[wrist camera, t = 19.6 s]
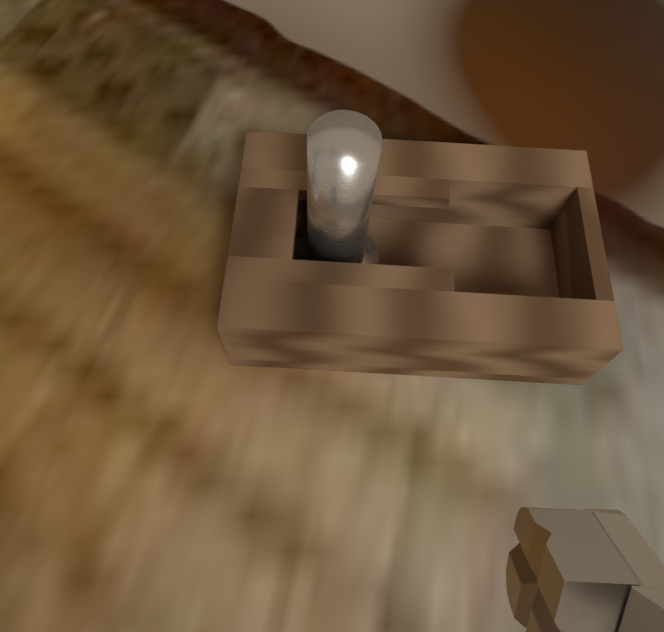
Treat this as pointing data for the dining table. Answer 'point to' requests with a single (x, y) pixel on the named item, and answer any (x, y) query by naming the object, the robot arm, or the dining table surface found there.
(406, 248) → the wooden compartment tray
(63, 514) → the dining table surface
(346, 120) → the steel peg
